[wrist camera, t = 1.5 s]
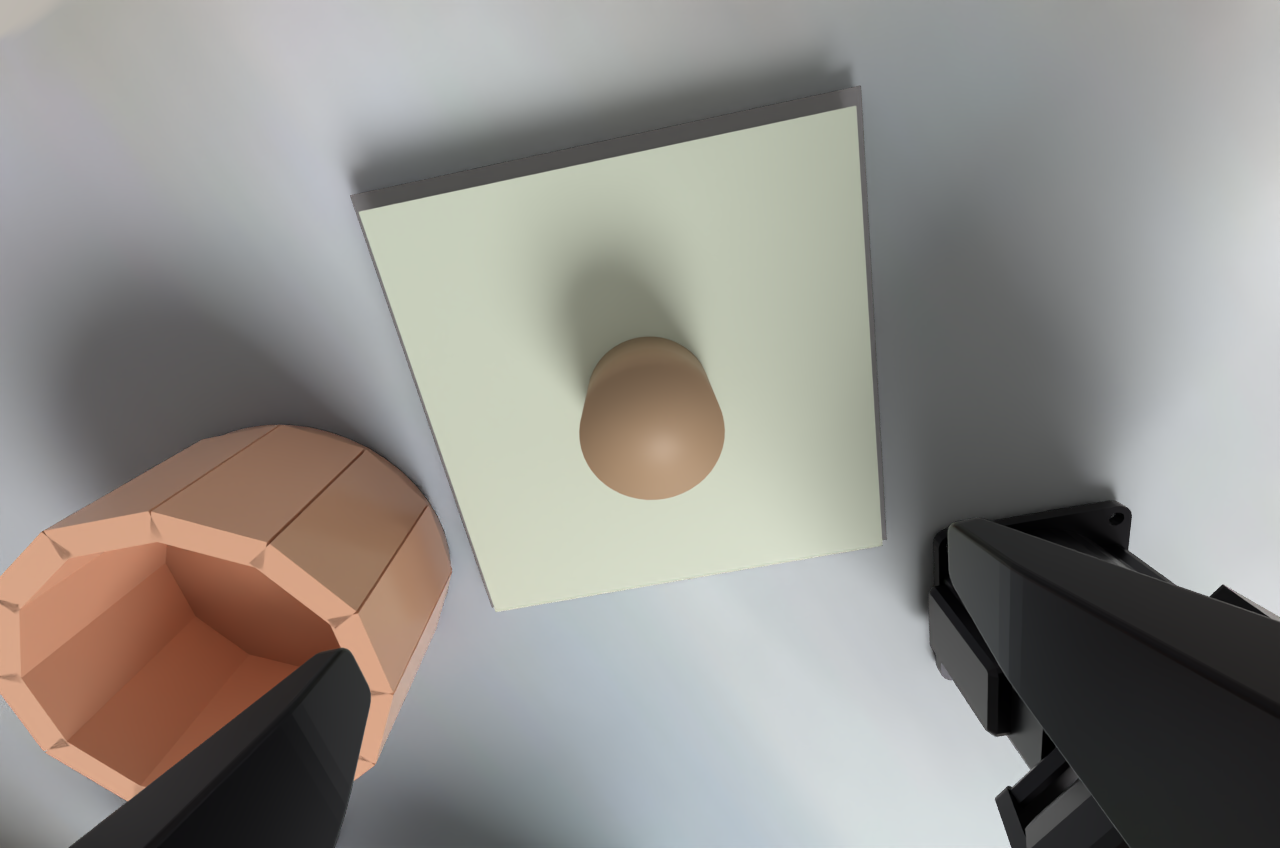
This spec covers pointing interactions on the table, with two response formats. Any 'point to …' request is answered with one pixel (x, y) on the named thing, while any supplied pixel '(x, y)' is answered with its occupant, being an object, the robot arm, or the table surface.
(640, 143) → the mat
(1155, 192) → the table surface
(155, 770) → the pot
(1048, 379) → the table surface
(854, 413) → the lid
